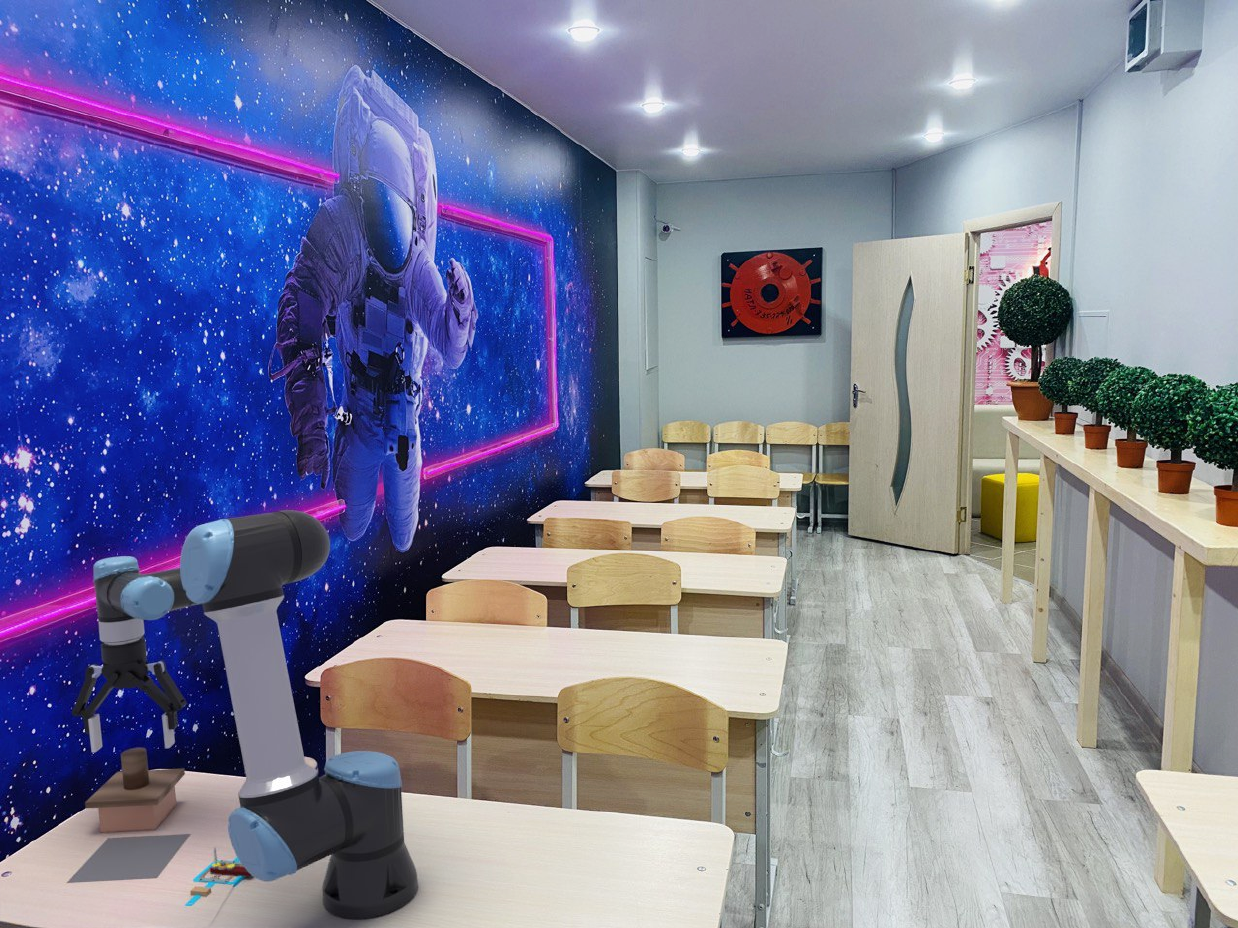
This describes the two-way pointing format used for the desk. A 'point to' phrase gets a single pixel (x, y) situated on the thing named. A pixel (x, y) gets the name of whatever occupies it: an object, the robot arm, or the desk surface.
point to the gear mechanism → (219, 868)
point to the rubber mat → (130, 858)
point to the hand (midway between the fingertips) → (133, 747)
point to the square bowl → (136, 815)
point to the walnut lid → (135, 783)
